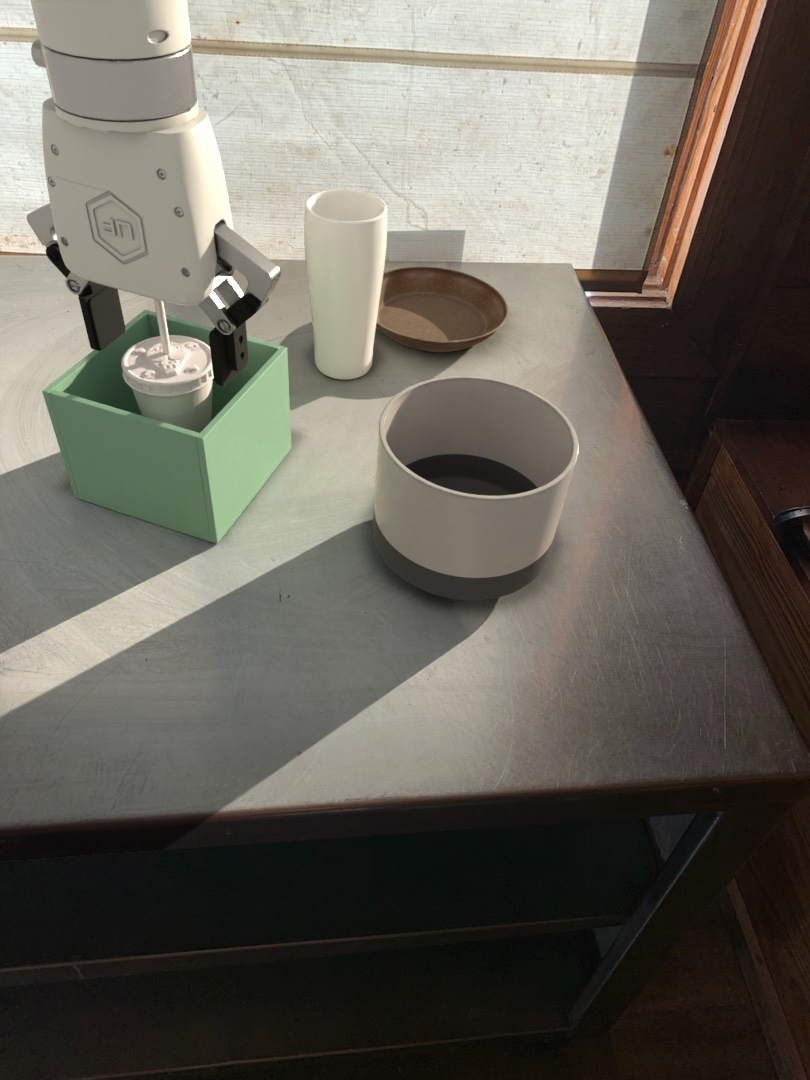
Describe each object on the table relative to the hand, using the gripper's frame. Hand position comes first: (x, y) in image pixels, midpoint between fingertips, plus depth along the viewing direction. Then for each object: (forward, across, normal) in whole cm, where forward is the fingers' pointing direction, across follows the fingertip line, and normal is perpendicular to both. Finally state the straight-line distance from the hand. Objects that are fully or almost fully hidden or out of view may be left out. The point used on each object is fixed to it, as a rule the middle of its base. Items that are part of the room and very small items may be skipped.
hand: (168, 357), depth 54 cm
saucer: (+10, +10, +30) cm, 33 cm away
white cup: (+10, +5, +19) cm, 22 cm away
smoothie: (+10, 0, 0) cm, 10 cm away
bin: (+10, 0, 0) cm, 10 cm away
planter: (+10, +22, +1) cm, 24 cm away
